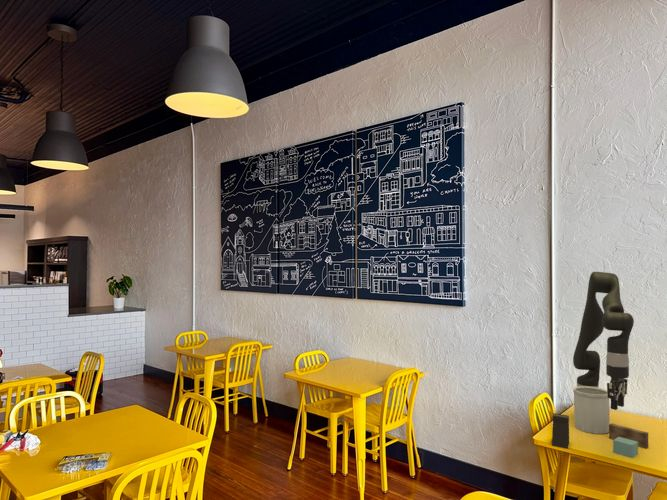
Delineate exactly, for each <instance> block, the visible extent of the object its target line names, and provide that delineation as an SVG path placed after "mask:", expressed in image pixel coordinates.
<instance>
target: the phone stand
mask: <svg viewBox="0 0 667 500" xmlns="http://www.w3.org/2000/svg"><path fill="white" fill-rule="evenodd" d="M551 435H552V436H551V437H552V439H551V442H552V443H551V446H552V447H558V448H562V449H569V445H570V415H568V414H561V413H554V412H553V413H552V434H551Z"/></svg>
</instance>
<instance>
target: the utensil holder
mask: <svg viewBox="0 0 667 500" xmlns="http://www.w3.org/2000/svg"><path fill="white" fill-rule="evenodd" d="M572 392H573V407H574V408H573V411H574V412H573V413H574V428H576V429H577V430H579V431H582V432H585V433H589V434H593V435H594V434H596V435H597V434H598V435H604V434H607V433H608V434H609V424H610V419H611V418H610V398H608V393H607V389H605V388H601V387H599V388H597V387H589V386H579V387H577V386H575V387H573V389H572Z"/></svg>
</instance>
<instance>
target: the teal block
mask: <svg viewBox="0 0 667 500" xmlns="http://www.w3.org/2000/svg"><path fill="white" fill-rule="evenodd" d="M612 453H613V454H617V455H621V456H623V457H627V458H630V459H631V458H632V459H634V458H635V457H636V456H638V455H639V447H638V442H637V441H633V440H629V439H625V438H622V437H617V438H616V439H614V440H613V439H612Z"/></svg>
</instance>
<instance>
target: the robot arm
mask: <svg viewBox="0 0 667 500" xmlns="http://www.w3.org/2000/svg"><path fill="white" fill-rule="evenodd" d="M620 289H621V288H620V280H619V277H618V275H616V274H615V273H612V272H611V273H610V272H604V271H592V272H591V273H590V275H589V281H588V285H587V293H586V301H585V305H584V311H583V316H582V318H581V324H580V331H579V336H578V339H577V340H578V341H577V342H576V346H575V349H574V353H573V358H572V362H573V367H574V368H575V369H576V370H580V371H582V370H583V371H587V372H586V373H584V374H581V375H578V376H577V377H576V387H579V386H589V387H597V388H600V387H599V386H600V385H599V383H600V371H601V356H600V354H599V353H598V352H597V351H596V350H588V349H589V347H590V345H591V344H592V343H594V341H596V340H597V339H598V338H599V337H601V335H602V333H603V332H604V329H606V330H608V331H617V332H618V331H619V332H621V333H620V334H618V335H612V336H608V338H607V340H606V344H607V345H606V356H605V357H606V358H605V359H606V361H605V366H606V369H605V371H606V372H605V373H606V376H607V377H609V378H610V380H609V382H607V383H606V390H607V393H608V398H609V400H610V409H611V410H615V411H617V410H618V409H619V408H618V407H621V408H623V407H625V397H626V395H627V394H628V378H629V377H630V358H629V357H630V356H629V340H630V336H631V332H632V330H633V328H634V322H635V321H634V317H633V315H632V314H631V313H628V312H625V308H624V306H623V303H622V299H621V291H620ZM597 293H600V294H605V296H604V297H603V298H602V300H601V305H602V308H601V306H600V304H599V302H598V299H597Z"/></svg>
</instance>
